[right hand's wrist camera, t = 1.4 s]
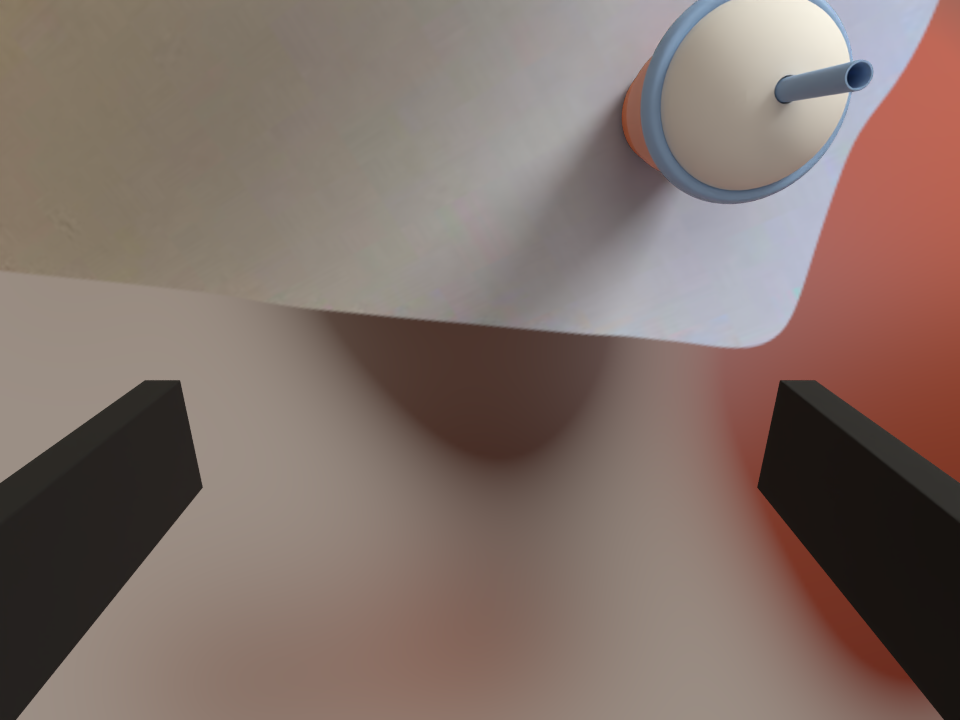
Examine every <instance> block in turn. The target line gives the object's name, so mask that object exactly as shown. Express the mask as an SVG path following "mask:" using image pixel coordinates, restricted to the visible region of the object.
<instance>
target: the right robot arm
mask: <svg viewBox="0 0 960 720" xmlns="http://www.w3.org/2000/svg"><path fill="white" fill-rule="evenodd" d="M202 488H203V487H202V482H201V478H200V473H199V468H198V463H197V458H196V454H195V449H194V444H193V440H192V435H191V430H190V425H189V421H188V416H187V411H186V407H185V402H184V397H183V392H182V388H181V383H180V380H145V381H143V382H142V383H141V384H139V385H138V386H136V387H135V388H134V389H132V390H131V391H129V392H128V393H127V394H125V395H124V396H122V397H121V398H120V399H118V400H117V401H115V402H114V403H112V404H111V405H110V406H108V407H107V408H105V409H104V410H103V411H101V412H100V413H98V414H97V415H96V416H94V417H93V418H91V419H90V420H89V421H87V422H86V423H84V424H83V425H82V426H80V427H79V428H77V429H76V430H74V431H73V432H72V433H70V434H69V435H67V436H66V437H65V438H63V439H62V440H60V441H59V442H58V443H56V444H55V445H53V446H52V447H51V448H49V449H48V450H46V451H45V452H43V453H42V454H41V455H39V456H38V457H36V458H35V459H34V460H32V461H31V462H29V463H28V464H27V465H25V466H24V467H22V468H21V469H20V470H18V471H17V472H15V473H14V474H12V475H11V476H10V477H8V478H7V479H5V480H4V481H3V482H1V483H0V720H16V719H17V718H18V717H19V715H20V714H21V713H22V712H23V710H24V709H25V708H26V707H27V705H28V704H29V703H30V702H31V700H32V699H33V698H34V697H35V695H36V694H37V693H38V692H39V690H40V689H41V688H42V687H43V685H44V684H45V683H46V682H47V680H48V679H49V678H50V677H51V675H52V674H53V673H54V672H55V670H56V669H57V668H58V667H59V666H60V664H61V663H62V662H63V660H64V659H65V658H66V657H67V656H68V654H69V653H70V652H71V651H72V649H73V648H74V647H75V646H76V644H77V643H78V642H79V641H80V639H81V638H82V637H83V636H84V634H85V633H86V632H87V631H88V629H89V628H90V627H91V626H92V624H93V623H94V622H95V621H96V620H97V618H98V617H99V616H100V615H101V613H102V612H103V611H104V609H105V608H106V607H107V606H108V605H109V603H110V602H111V601H112V600H113V598H114V597H115V596H116V595H117V593H118V592H119V591H120V590H121V588H122V587H123V586H124V585H125V583H126V582H127V581H128V580H129V578H130V577H131V576H132V575H133V573H134V572H135V571H136V570H137V569H138V567H139V566H140V565H141V564H142V562H143V561H144V560H145V559H146V557H147V556H148V555H149V554H150V552H151V551H152V550H153V549H154V547H155V546H156V545H157V544H158V542H159V541H160V540H161V539H162V537H163V536H164V535H165V534H166V532H167V531H168V530H169V529H170V527H171V526H172V525H173V524H174V522H175V521H176V520H177V519H178V518H179V516H180V515H181V514H182V513H183V511H184V510H185V509H186V508H187V506H188V505H189V504H190V503H191V501H192V500H193V499H194V498H195V496H196V495H197V494H198V493H199V491H200V490H201V489H202ZM758 489H759V490H760V491H761V493H762V494H763V495H764V496H765V498H766V499H767V500H768V501H769V503H770V504H771V505H772V506H773V508H774V509H775V510H776V511H777V513H778V514H779V515H780V516H781V518H782V519H783V520H784V521H785V522H786V524H787V525H788V526H789V527H790V529H791V530H792V531H793V532H794V534H795V535H796V536H797V537H798V539H799V540H800V541H801V542H802V544H803V545H804V546H805V547H806V549H807V550H808V551H809V552H810V554H811V555H812V556H813V557H814V559H815V560H816V561H817V562H818V564H819V565H820V566H821V567H822V568H823V570H824V571H825V572H826V573H827V575H828V576H829V577H830V578H831V580H832V581H833V582H834V583H835V585H836V586H837V587H838V588H839V590H840V591H841V592H842V593H843V595H844V596H845V597H846V598H847V600H848V601H849V602H850V603H851V605H852V606H853V607H854V608H855V610H856V611H857V612H858V613H859V615H860V616H861V617H862V618H863V619H864V621H865V622H866V623H867V624H868V626H869V627H870V628H871V629H872V631H873V632H874V633H875V634H876V636H877V637H878V638H879V639H880V641H881V642H882V643H883V644H884V646H885V647H886V648H887V649H888V651H889V652H890V653H891V654H892V656H893V657H894V658H895V659H896V661H897V662H898V663H899V664H900V666H901V667H902V668H903V669H904V670H905V672H906V673H907V674H908V675H909V677H910V678H911V679H912V680H913V682H914V683H915V684H916V685H917V687H918V688H919V689H920V690H921V692H922V693H923V694H924V695H925V697H926V698H927V699H928V700H929V702H930V703H931V704H932V705H933V707H934V708H935V709H936V710H937V712H938V713H939V714H940V715H941V717H942V718H943V719H944V720H960V483H959V482H957V481H956V480H955V479H953V478H952V477H950V476H949V475H948V474H946V473H945V472H943V471H942V470H940V469H939V468H938V467H936V466H935V465H933V464H932V463H931V462H929V461H928V460H926V459H925V458H923V457H922V456H921V455H919V454H918V453H917V452H915V451H914V450H912V449H911V448H909V447H908V446H907V445H905V444H904V443H902V442H901V441H900V440H898V439H897V438H895V437H894V436H893V435H891V434H890V433H888V432H887V431H886V430H884V429H883V428H881V427H880V426H879V425H877V424H876V423H874V422H873V421H871V420H870V419H869V418H867V417H866V416H864V415H863V414H862V413H860V412H859V411H857V410H856V409H855V408H853V407H852V406H850V405H849V404H848V403H846V402H845V401H843V400H842V399H840V398H839V397H838V396H836V395H835V394H833V393H832V392H831V391H829V390H828V389H826V388H825V387H824V386H822V385H821V384H819V383H818V382H817V381H815V380H781V381H780V383H779V388H778V392H777V397H776V402H775V407H774V411H773V416H772V421H771V425H770V430H769V435H768V440H767V444H766V449H765V454H764V459H763V463H762V468H761V473H760V477H759V482H758Z"/></svg>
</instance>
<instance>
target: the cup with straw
mask: <svg viewBox="0 0 960 720" xmlns="http://www.w3.org/2000/svg"><path fill="white" fill-rule="evenodd" d="M872 77H873V67H872V65H871V64H870V63H869V62H868V61H866V60H856V61H853V58H852V51H851V47H850V43H849V39H848V36H847V33H846V31H845V28H844V26H843V24H842V22H841V20H840V19H839V17H838V16H837V14H836V13H835V11H834V10H833V9H832V8H831V6H830V5H829V4H828V3H827V2H826V1H825V0H698V1H696V2H695V3H694V4H693V5H691V6H690V7H689V8H688V9H687V10H686V11H685V12H684V13H683V14H682V15H681V16H680V17H679V18H678V19H677V20H676V21H675V22H674V23H673V24H672V26H671V27H670V28H669V29H668V31H667V32H666V33H665V35H664V36H663V38H662V39H661V41H660V43H659V44H658V46H657V48H656V50H655V52H654V54H653V56H652V57H651V58H650V59H649V60H648V61H647V62H646V64H645V65H644V66H643V68H642V69H641V70H640V72H639V73H638V75H637V77H636V78H635V80H634V81H633V83H632V84H631V86H630V88H629V89H628V92H627V94H626V97H625V100H624V103H623V108H622V126H623V131H624V135H625V137H626V140H627V142H628V144H629V145H630V147H631V148H632V150H633V151H634V152H635V153H636V154H637V155H638V156H639V157H641V158H642V159H643V160H644V161H645V162H646V163H648V164H649V165H650V166H651V167H653V168H655V169H656V170H658V171H660V172H661V173H662V174H663V175H664V176H665V177H666V178H667V179H668V180H669V181H670V182H671V183H672V184H673V185H674V186H676V187H677V188H678V189H680V190H681V191H683V192H685V193H686V194H688V195H691V196H693V197H695V198H698V199H701V200H703V201H708V202H712V203H720V204H737V203H745V202H751V201H755V200H759V199H762V198H765V197H767V196H770V195H772V194H775V193H777V192H779V191H781V190H783V189H784V188H786V187H788V186H789V185H791V184H793V183H794V182H795V181H797V180H798V179H799V178H801V177H802V176H803V175H804V174H805V173H807V172H808V171H809V170H810V169H811V168H812V167H813V166H814V165H815V164H816V163H817V162H818V161H819V159H820V158H821V157H822V156H823V155H824V153H825V152H826V151H827V149H828V148H829V146H830V145H831V143H832V142H833V140H834V138H835V137H836V135H837V133H838V131H839V129H840V127H841V125H842V123H843V120H844V118H845V115H846V112H847V109H848V106H849V102H850V97H851V93H852V92H854V91H859V90H862V89H863V88H865V87H866V86H867V85H868V84H869V83H870V81H871V79H872Z"/></svg>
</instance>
